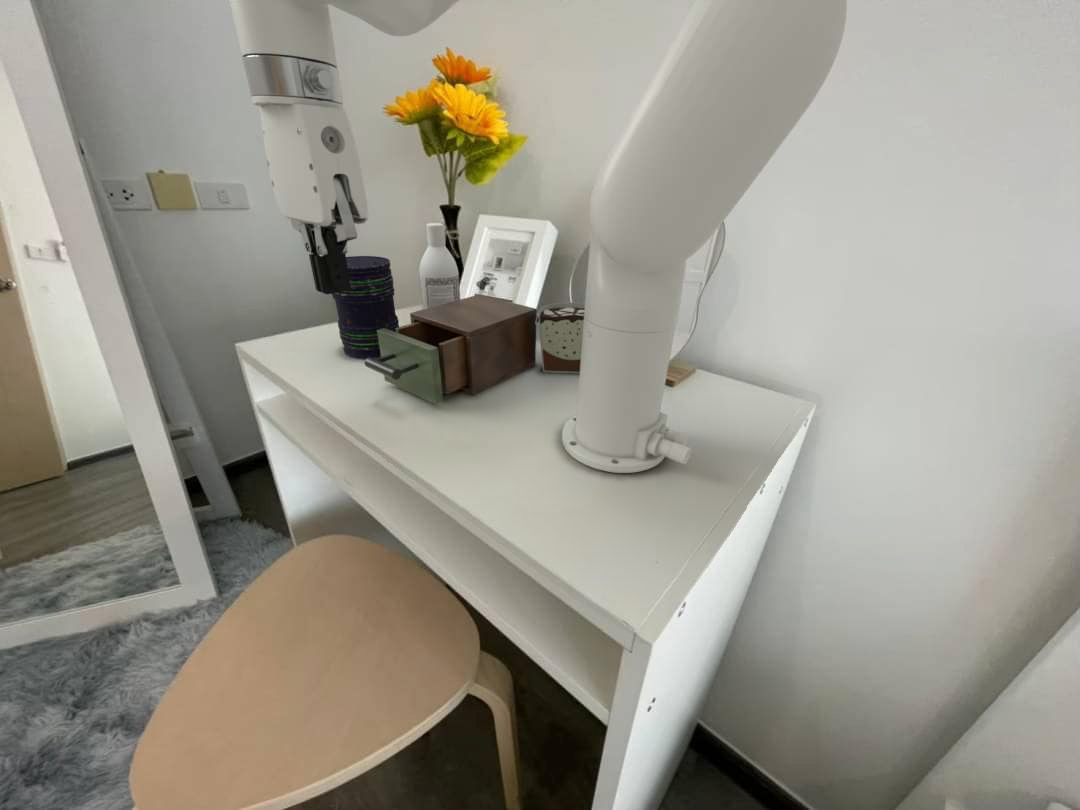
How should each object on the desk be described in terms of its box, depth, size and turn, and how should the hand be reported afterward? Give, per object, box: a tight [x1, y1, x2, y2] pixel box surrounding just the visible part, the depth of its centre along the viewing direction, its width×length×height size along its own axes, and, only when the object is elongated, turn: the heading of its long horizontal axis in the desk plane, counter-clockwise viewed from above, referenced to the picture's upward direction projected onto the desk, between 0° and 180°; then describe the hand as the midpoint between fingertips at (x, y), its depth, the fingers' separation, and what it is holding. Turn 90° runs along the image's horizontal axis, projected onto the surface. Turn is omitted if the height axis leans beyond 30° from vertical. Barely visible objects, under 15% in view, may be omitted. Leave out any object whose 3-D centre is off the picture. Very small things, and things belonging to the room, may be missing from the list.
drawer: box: [364, 321, 469, 405], centre depth 63 cm, size 18×11×8 cm, turn 142°
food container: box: [535, 302, 585, 375], centre depth 71 cm, size 12×6×10 cm, turn 88°
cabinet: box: [409, 294, 538, 396], centre depth 69 cm, size 15×13×10 cm
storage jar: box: [331, 255, 400, 360], centre depth 74 cm, size 10×10×15 cm
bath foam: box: [418, 222, 461, 310], centre depth 80 cm, size 7×7×20 cm
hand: (334, 290), depth 49 cm, fingers closed
